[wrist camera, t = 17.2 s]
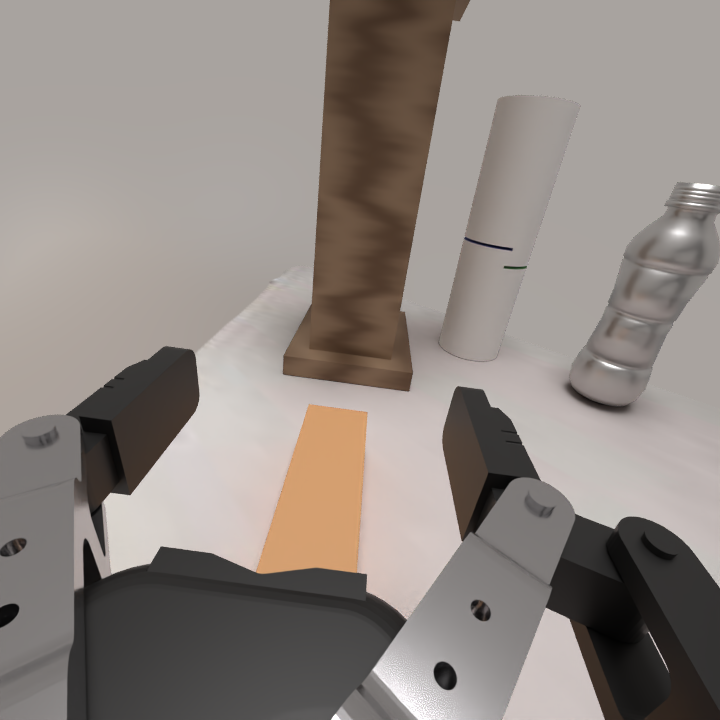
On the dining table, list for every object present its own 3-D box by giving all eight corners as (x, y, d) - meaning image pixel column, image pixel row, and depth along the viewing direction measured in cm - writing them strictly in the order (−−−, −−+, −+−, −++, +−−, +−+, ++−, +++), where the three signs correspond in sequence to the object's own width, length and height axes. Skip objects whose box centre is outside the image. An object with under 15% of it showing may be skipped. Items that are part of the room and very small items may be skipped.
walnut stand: (402, 326, 49) (465, -8, 33) (408, 391, 35) (523, -136, 19) (312, 314, 49) (333, -26, 33) (283, 374, 35) (295, -166, 19)
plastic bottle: (549, 379, 40) (635, 177, 31) (600, 379, 42) (697, 187, 32) (592, 415, 35) (712, 183, 25) (649, 414, 36) (783, 194, 27)
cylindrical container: (438, 331, 49) (492, 105, 37) (492, 340, 48) (565, 113, 36) (439, 354, 43) (505, 91, 31) (502, 366, 42) (593, 101, 30)
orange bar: (360, 456, 27) (367, 412, 25) (314, 1020, 9) (326, 1013, 7) (305, 449, 27) (308, 404, 25) (154, 999, 9) (125, 988, 7)
